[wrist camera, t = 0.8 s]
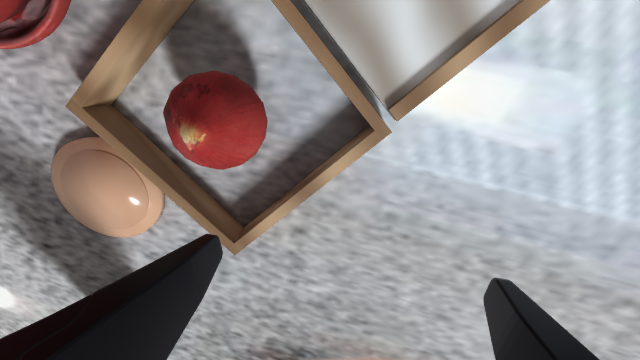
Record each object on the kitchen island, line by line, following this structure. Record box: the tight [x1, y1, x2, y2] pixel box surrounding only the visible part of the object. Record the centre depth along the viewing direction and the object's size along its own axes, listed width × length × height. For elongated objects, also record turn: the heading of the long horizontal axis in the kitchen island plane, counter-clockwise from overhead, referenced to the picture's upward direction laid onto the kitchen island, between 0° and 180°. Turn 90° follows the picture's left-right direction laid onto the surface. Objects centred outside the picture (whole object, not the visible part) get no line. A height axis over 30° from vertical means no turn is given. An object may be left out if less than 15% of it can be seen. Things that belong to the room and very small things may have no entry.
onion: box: [163, 71, 267, 169], centre depth 16 cm, size 6×6×8 cm
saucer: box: [51, 136, 165, 237], centre depth 22 cm, size 9×9×1 cm
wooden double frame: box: [66, 0, 550, 255], centre depth 16 cm, size 32×16×2 cm, turn 131°
